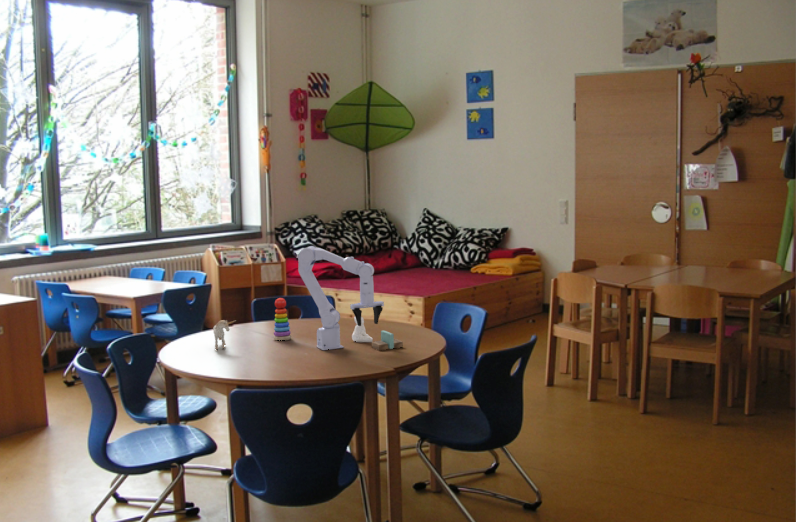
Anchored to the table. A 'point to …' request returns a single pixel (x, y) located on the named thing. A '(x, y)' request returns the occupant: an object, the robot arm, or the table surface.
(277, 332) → the stacking toy
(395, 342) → the slot block
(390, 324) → the table surface
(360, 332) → the sitting furry creature
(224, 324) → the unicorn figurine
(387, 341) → the teal rectangular block
